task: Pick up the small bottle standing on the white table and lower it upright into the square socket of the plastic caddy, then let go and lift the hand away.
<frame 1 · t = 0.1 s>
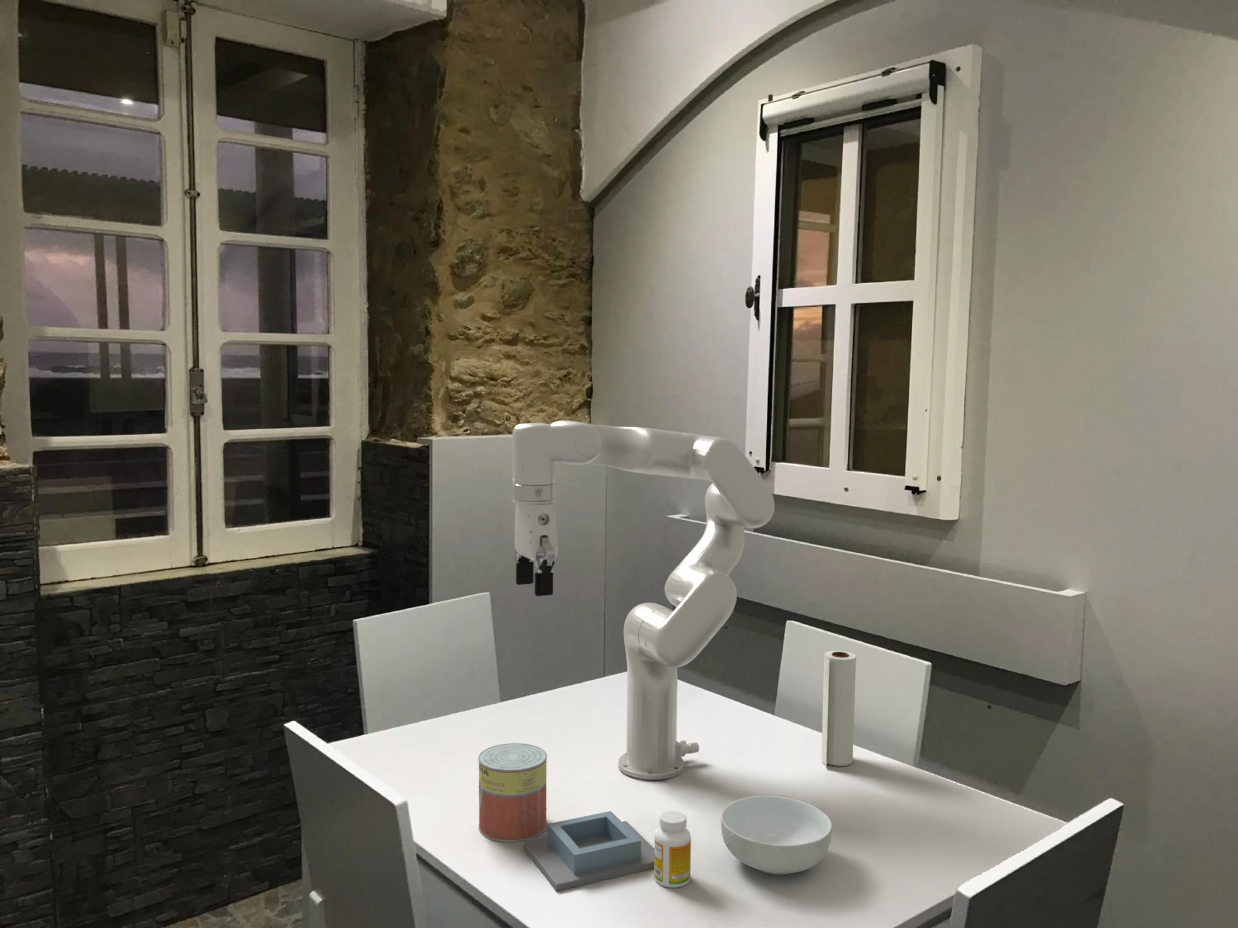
hand: (534, 589, 172), 37 cm above the table, tool pointing down, fingers open, 9 cm apart
cereal bowl: (775, 863, 150), on the table
supplement bottle: (672, 880, 144), on the table
canned food: (512, 826, 161), on the table
paper towel roll: (834, 762, 189), on the table
caddy: (593, 856, 151), on the table
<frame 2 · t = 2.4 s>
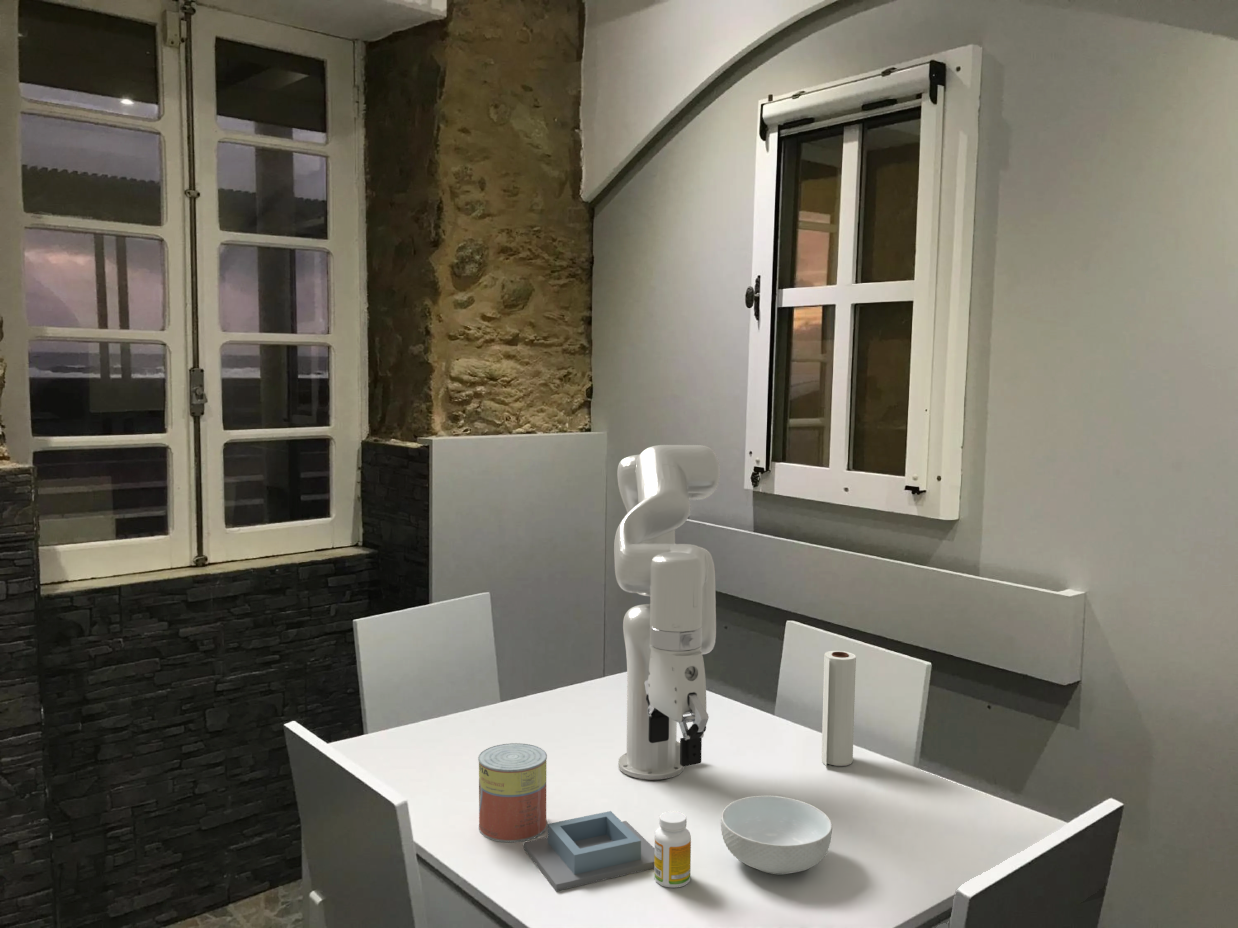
hand: (674, 752, 142), 20 cm above the table, tool pointing down, fingers open, 9 cm apart
nothing on the table moved.
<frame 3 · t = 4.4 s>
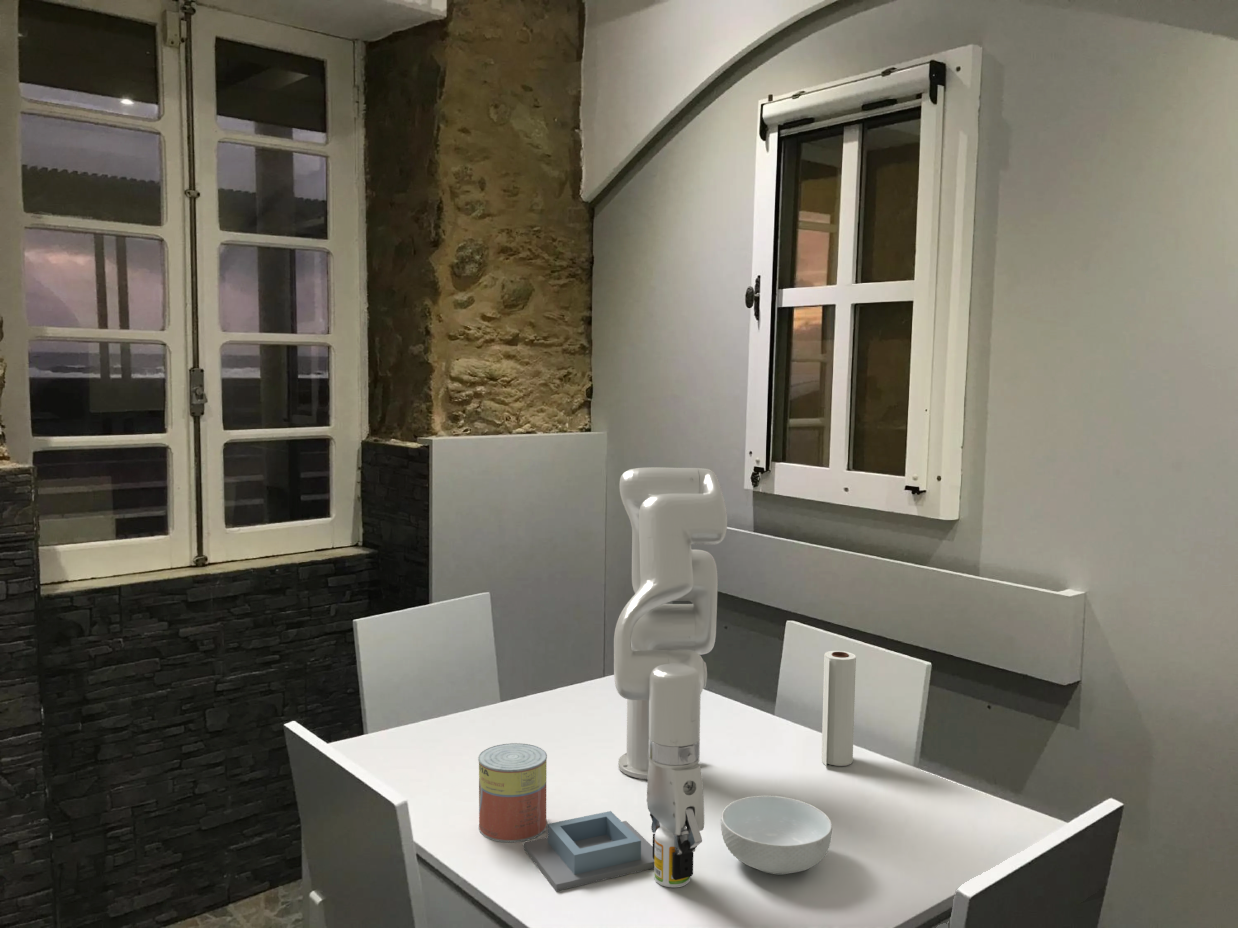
hand: (672, 865, 144), 2 cm above the table, tool pointing down, fingers closed on supplement bottle, 5 cm apart
supplement bottle: (672, 880, 144), on the table, touching gripper
everything else where it was.
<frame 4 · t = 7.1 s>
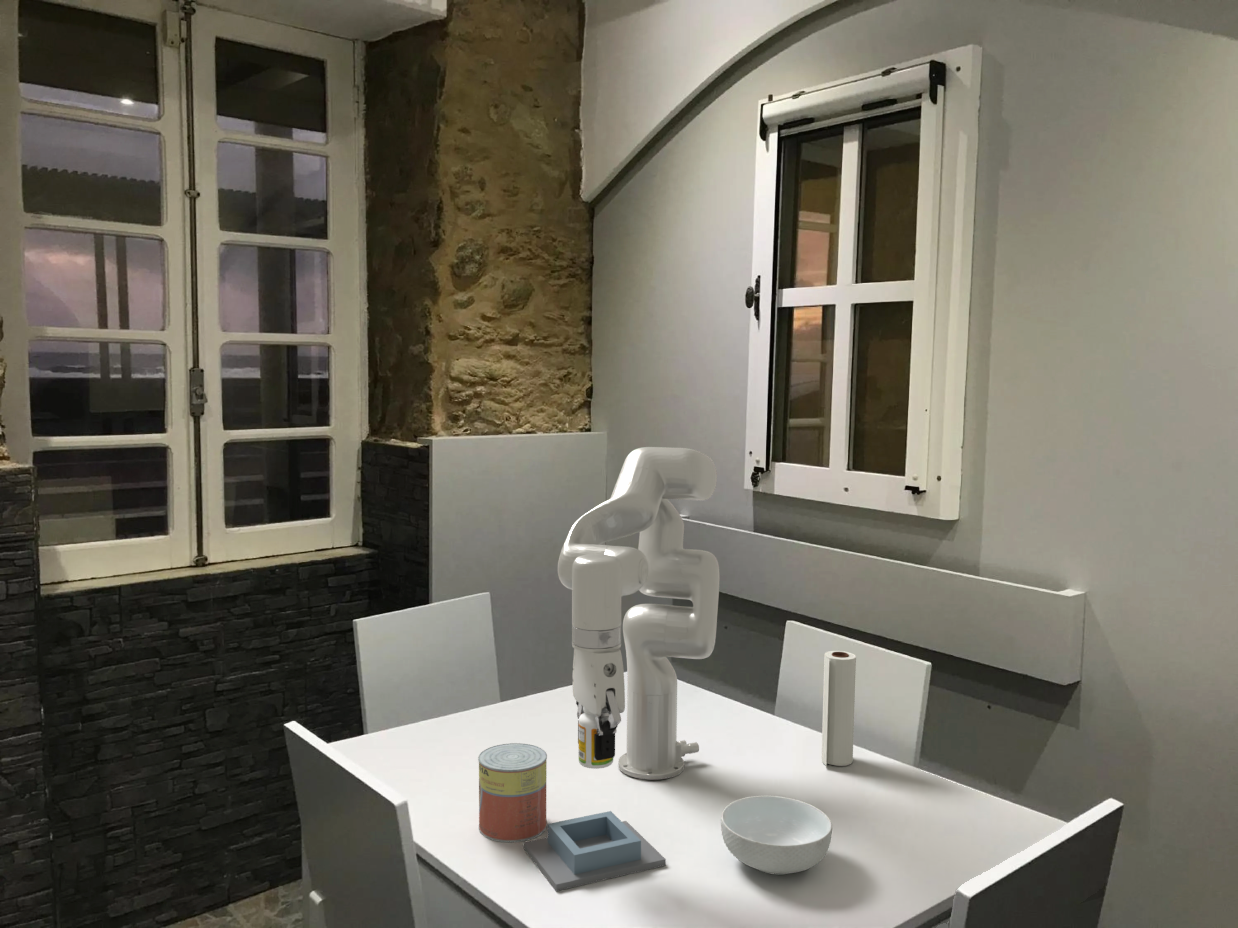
hand: (596, 749, 149), 17 cm above the table, tool pointing down, fingers closed on supplement bottle, 5 cm apart
supplement bottle: (595, 763, 149), point 15 cm above the table, touching gripper
everything else where it was.
when the fingers open (5 cm above the table, at t = 9.9 s): supplement bottle drops 2 cm, resting on caddy.
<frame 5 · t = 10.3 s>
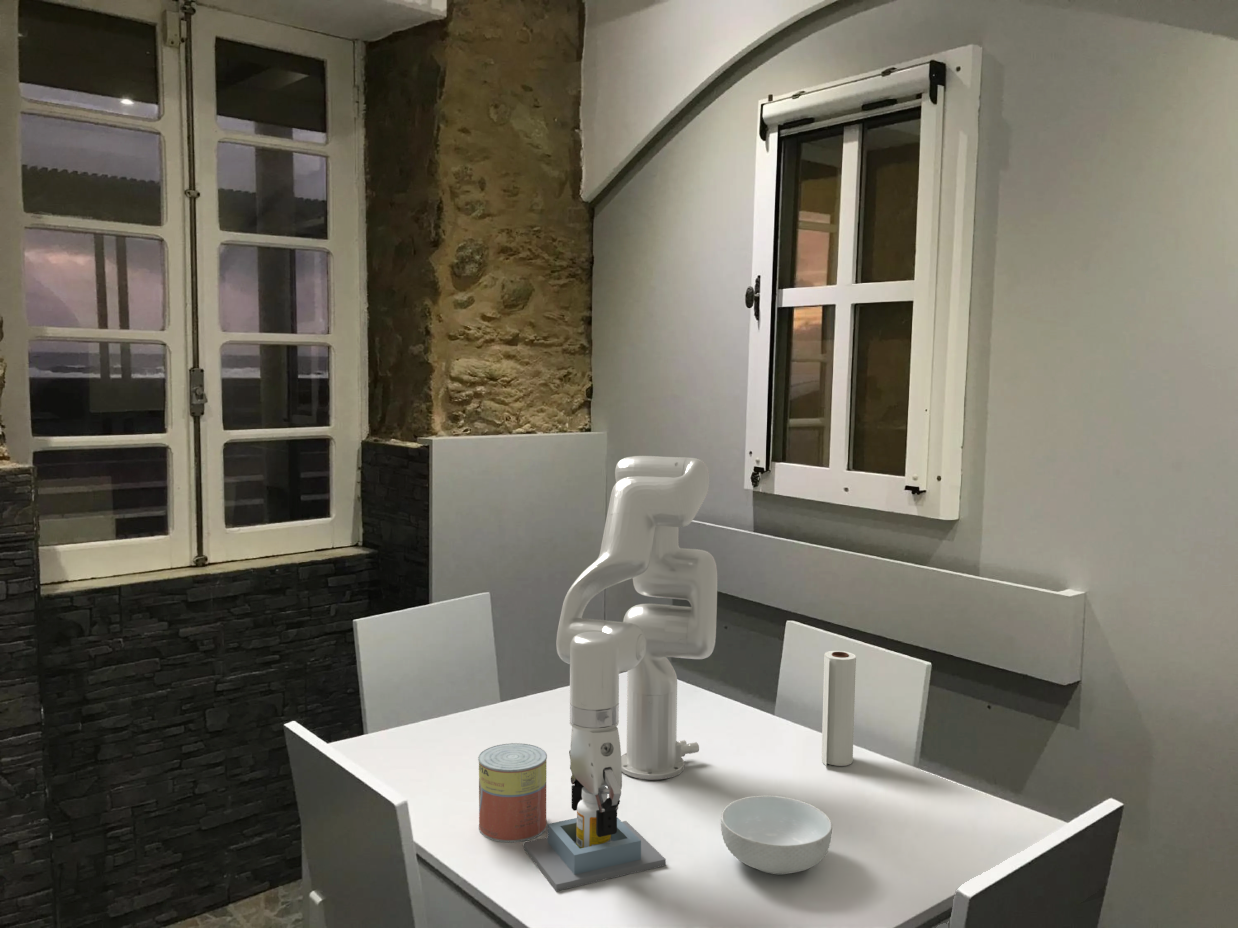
hand: (593, 820, 150), 6 cm above the table, tool pointing down, fingers open, 9 cm apart
supplement bottle: (593, 850, 151), point 1 cm above the table, touching caddy
everything else where it was.
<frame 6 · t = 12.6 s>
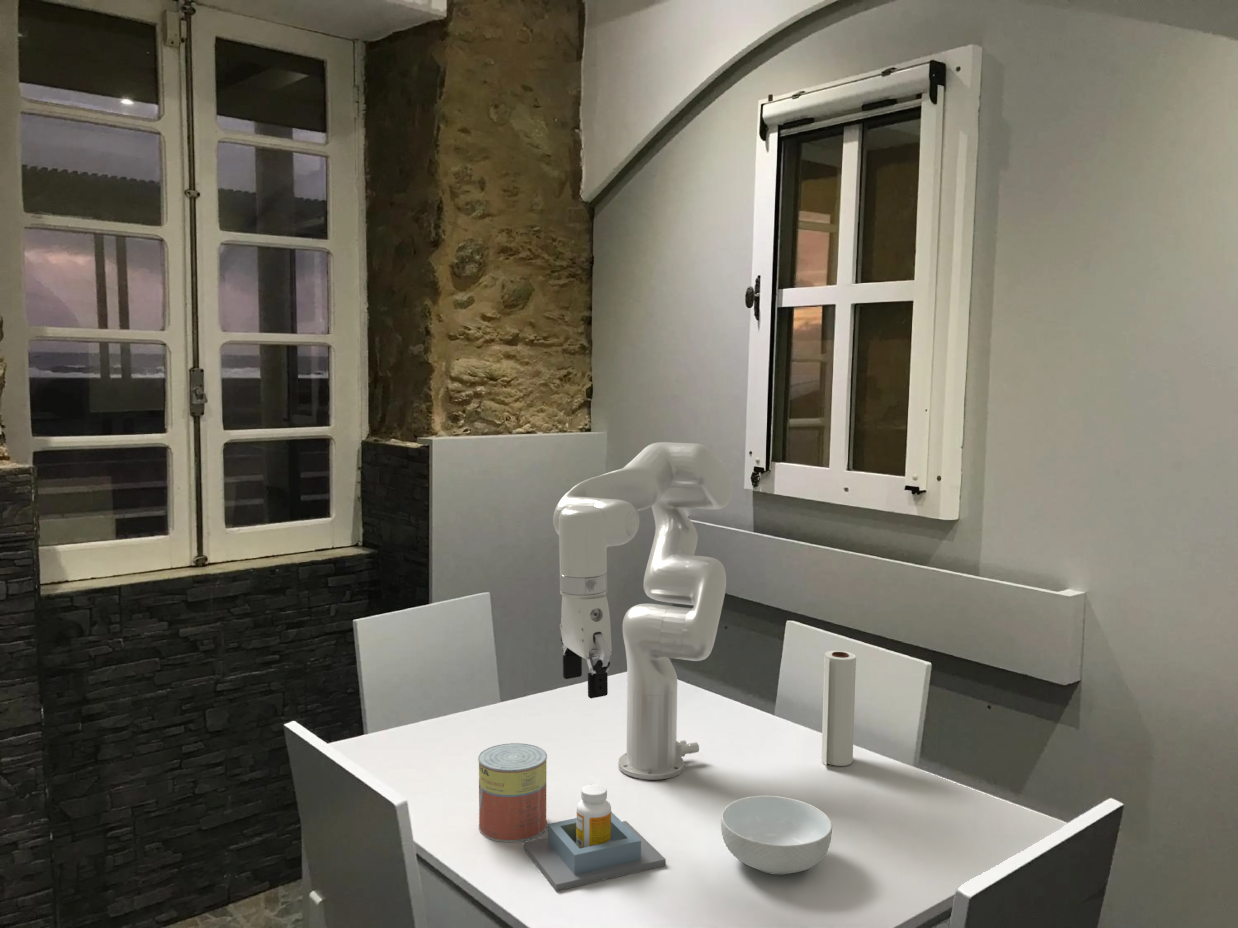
hand: (584, 686, 157), 24 cm above the table, tool pointing down, fingers open, 9 cm apart
nothing on the table moved.
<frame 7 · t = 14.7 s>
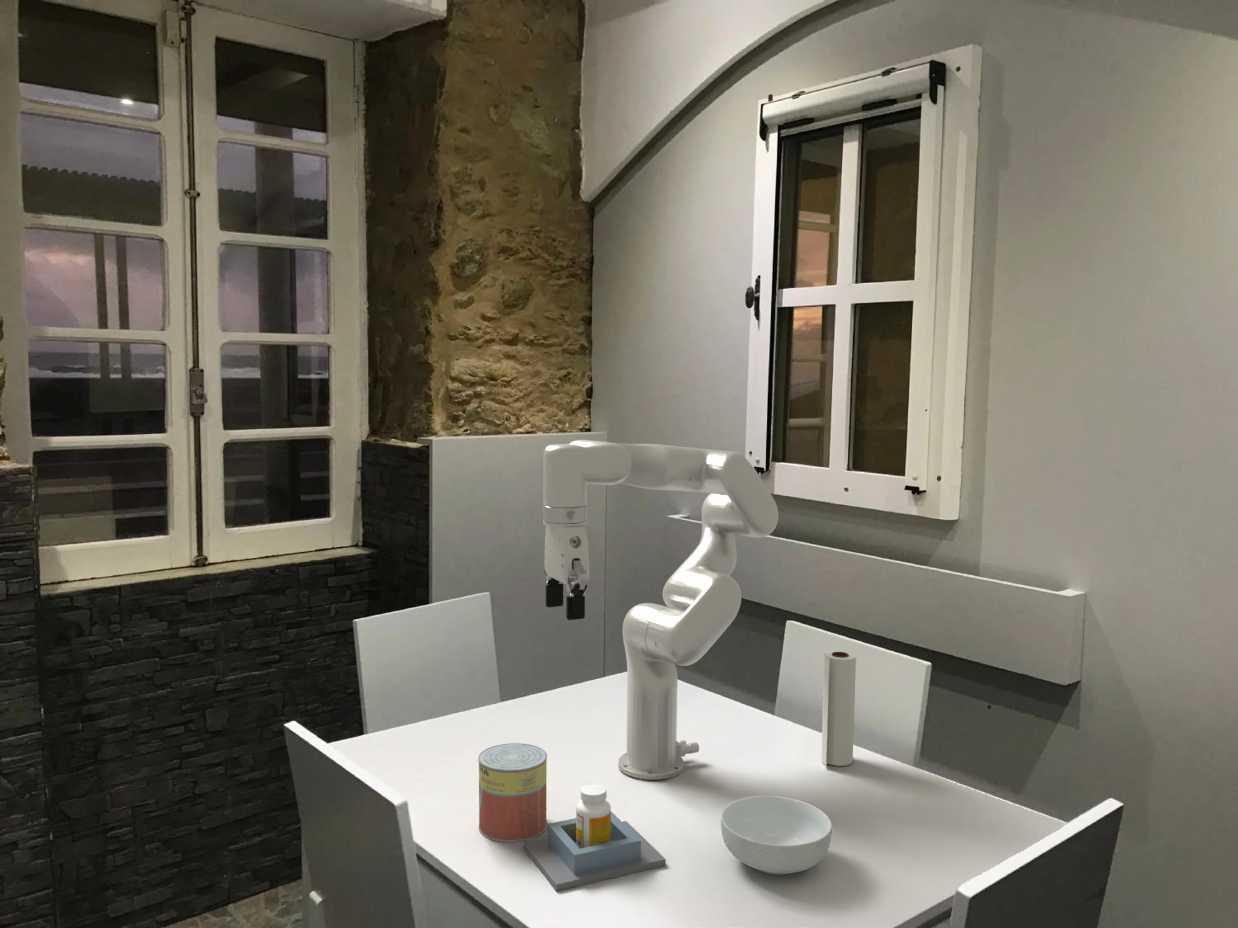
hand: (564, 612, 169), 33 cm above the table, tool pointing down, fingers open, 9 cm apart
nothing on the table moved.
at the end: supplement bottle 0.3 cm off-centre on the caddy, point 0.8 cm above the caddy's base; supplement bottle tilted 0°; the gripper is holding nothing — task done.
